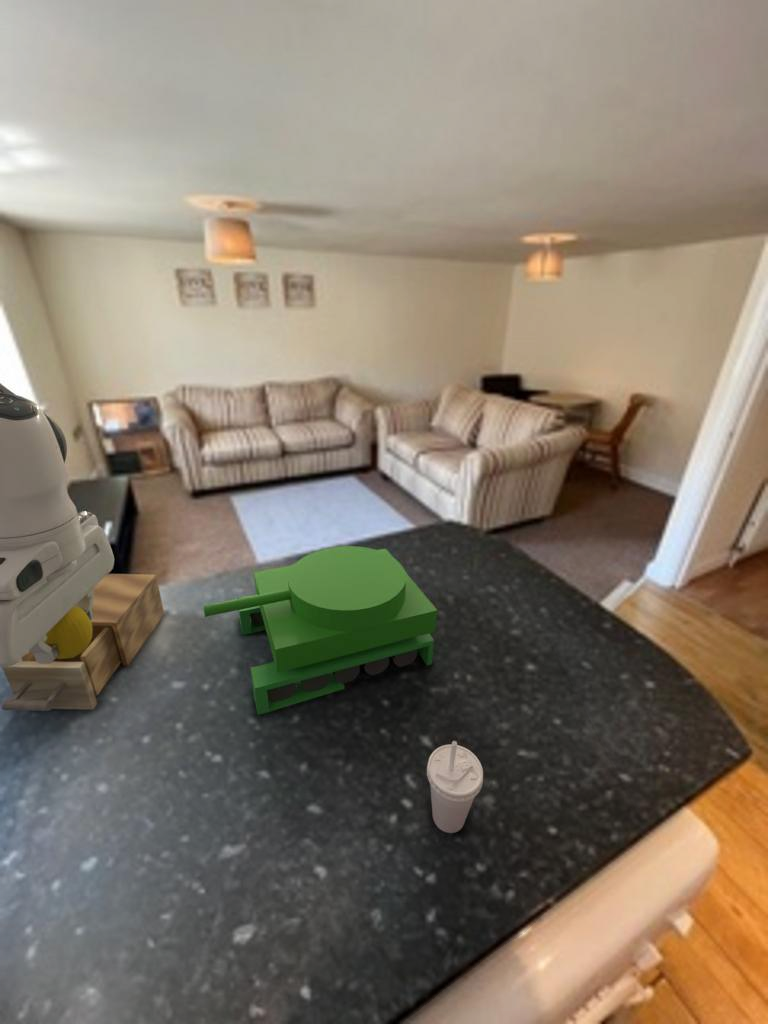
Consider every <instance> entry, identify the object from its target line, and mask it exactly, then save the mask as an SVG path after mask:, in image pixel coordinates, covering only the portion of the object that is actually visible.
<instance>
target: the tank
mask: <svg viewBox="0 0 768 1024" xmlns="http://www.w3.org/2000/svg"><path fill="white" fill-rule="evenodd" d="M253 579H254V587H255V589H254V590H255V594H251V595H247V596H246V595H245V596H242V597H236V599H230V600H226V601H220V602H215V603H211V604H205V605H203V613H204V617H205V618H206V617H211V616H215V615H221V614H225V613H231V612H235V611H238V618H239V626H240V630H241V635H242V636H245V635H246V636H247V635H249V634H255V633H258V632H262V631H265V632H266V634H267V639H268V642H269V647H270V650H271V651H270V652H271V655H272V659H273V661H271V662H268V663H264V664H259V665H257V666H252V667H250V675H251V684H252V692H253V697H254V702H255V703H254V704H255V708H256V713H257V716H260V715H263V714H266V713H267V714H268V713H270V712H273V711H276V710H279V709H283V708H285V707H289V706H293V705H295V704H300V703H302V702H303V703H304V702H307V701H309V700H312V699H316V698H319V697H323V696H326V695H328V694H332V693H335V692H339V691H342V690H345V689H346V688H345V685H344V684H346V683H350V682H353V681H354V680H355V679H357V678H358V676H359V674H360V672H361V667H360V666H361V665H362V667H363V669H364V671H365V672H366V674H368V675H370V676H374V675H377V674H381V673H383V672H384V671H385V670H387V669H388V666H389V665H390V659H391V660H392V661H393V663H394V664H395V666H396V667H400V668H402V667H406V666H409V665H411V664H412V663H414V661H415V660H416V659H417V657H418V655H419V656H420V658H421V659H422V660H423V662H424V664H425V665H426V667H428V666H430V665H433V657H434V648H435V647H434V646H435V645H434V644H435V639H434V637H432V635H431V634H432V633H436V629H437V619H438V609H437V608H436V607H435V605H434V604H433V603H432V602H431V601H430V599H429V598H428V597H427V596H426V595H425V594H424V592H423V591H422V590H421V589H420V588H419V587H418V585H417V584H416V583H415V581H414V580H413V579H412V578H411V576H410V575H408V573H407V572H406V570H405V568H404V567H403V565H402V564H401V562H399V561H398V560H397V558H395V557H394V556H393V555H392V554H391V553H390V552H389V551H388V549H387V548H381V549H374V548H371V547H366V546H365V547H364V546H357V545H340V546H330V547H327V548H322V549H319V550H316V551H313V552H310V553H308V554H307V555H304V556H303V557H302V558H299V560H297V561H296V562H295V563H294V564H289V565H283V566H278V567H274V568H267V569H263V570H257V571H253Z"/></svg>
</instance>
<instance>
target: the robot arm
mask: <svg viewBox="0 0 768 1024" xmlns="http://www.w3.org/2000/svg"><path fill="white" fill-rule="evenodd" d="M67 455H68V445H67V440H66V436H65V434H64V432H63V430H62V428H61V427H60V425H59V424H58V423H57V422H56V421H55V420H54V419H53V418H52V417H51V416H50V415H49V414H47V413H46V412H45V411H43V410H42V408H41V407H40V406H39V405H38V404H37V403H36V402H34V401H33V400H31V399H29V398H26V397H24V396H21V395H17V394H16V393H14V392H12V390H10V389H9V388H7V387H6V386H4V385H3V384H2V383H1V382H0V668H2V667H8V666H13V665H14V664H16V663H17V662H18V661H21V660H22V659H21V658H22V657H23V656H24V655H25V654H26V653H27V652H28V651H30V652H32V653H33V654H34V656H35V659H36V661H37V662H38V663H40V664H51V663H52V662H53V661H54V659H55V658H56V657H57V656H58V655H59V653H60V652H59V651H58V646H57V644H46V643H44V642H45V641H46V640H47V636H46V634H47V633H48V632H49V631H50V630H51V629H52V628H53V627H54V626H55V625H56V624H57V623H58V622H59V621H60V620H61V619H62V618H63V617H64V616H65V615H66V614H67V613H68V612H69V611H70V610H71V609H72V608H73V607H74V606H75V605H76V606H78V607H80V608H81V609H82V610H84V611H85V613H86V614H87V616H88V617H89V619H90V621H91V620H92V619H93V617H94V616H93V612H92V609H91V608H92V604H93V598H94V589H93V588H94V587H95V586H96V585H97V584H98V583H99V582H100V581H101V580H102V579H103V578H104V577H105V576H106V575H107V574H110V573H111V572H112V570H113V569H114V565H115V555H114V553H113V549H112V547H111V544H110V541H109V538H108V536H107V534H106V531H105V530H104V528H103V527H102V526H100V525H99V522H98V518H97V516H96V515H95V514H94V513H92V512H90V511H86V510H82V511H79V512H78V510H77V507H76V505H75V504H74V502H73V500H72V499H71V498H70V497H71V496H70V495H69V493H68V471H67V469H66V460H67Z"/></svg>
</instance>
